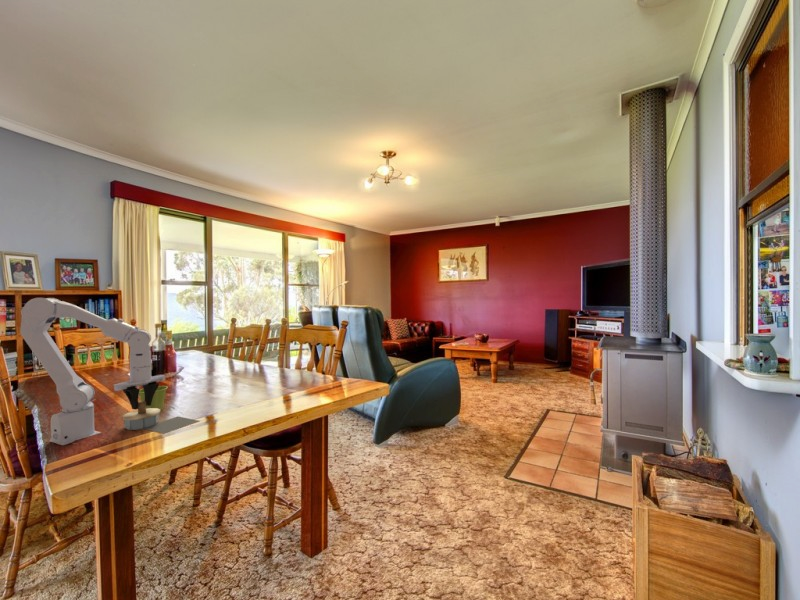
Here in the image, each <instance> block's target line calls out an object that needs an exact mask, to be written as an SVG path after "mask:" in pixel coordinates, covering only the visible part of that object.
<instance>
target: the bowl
mask: <svg viewBox="0 0 800 600" xmlns="http://www.w3.org/2000/svg"><path fill="white" fill-rule="evenodd" d="M159 415H160V413H159V414H157V415H155V416H152V417H148V418H144V419H138V420H124V419H123V420H124V421H123V422H124V429H126V430H128V431H135V430H143V429H142V428H147V427H150V426H153V425H155V424H156V423H159V422H160V421H159V419H160V418H159V417H160V416H159Z"/></svg>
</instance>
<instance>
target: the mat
mask: <svg viewBox="0 0 800 600" xmlns="http://www.w3.org/2000/svg"><path fill="white" fill-rule="evenodd" d="M199 422H200V420H198V419H193V418H188V417H182V416H175V417H171V418H169V419H165V420H162V421H158V422H157V423H156V424H155V425H153V426H150V427H147V428H142V429H141V430H146V431H150V432H154V433H158V434H163V435H164V434H168V433H171V432H173V431H177V430H179V429H182V428H184V427H188V426H190V425H193V424H196V423H199Z"/></svg>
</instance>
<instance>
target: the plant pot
mask: <svg viewBox="0 0 800 600" xmlns="http://www.w3.org/2000/svg"><path fill="white" fill-rule="evenodd" d="M168 388H169V386H167V385H159V386H158V388H157V390H156V391H155V394H154V396H153V399H152V403H151V406H146V409H148V408H158V409H160V412H161V411H163V410H164V407H165V406H164V405H165V400H166V399H165V398H166V394H167V389H168ZM139 389H140V388H139ZM138 397H139V398H140V402H142V401H145V394H144V389H143V388H141V389H140V391H139V395H138Z"/></svg>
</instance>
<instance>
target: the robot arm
mask: <svg viewBox="0 0 800 600" xmlns="http://www.w3.org/2000/svg"><path fill="white" fill-rule="evenodd" d="M20 314H21V321H20V328H19V329H20V330H19V333H20V335H21V336H22V338H23V340H24V342H25V343H26V345H28V347H29V349H30V350H31V351H32V353H33V354H34V355H35V357H36V358H37V360H38V361H39V363H40V364H41V365H42V368H43V369H45V371H46V373H47V374H48V375H49V377H50V378H51V379H52V381H53V382H54V384H55V386H56V389H55V390H56V394H57V395H58V397H59V405H60V407H61V411H60V412H58V413H55V414H52V416H51V418H50V420H49V421H50V439H49V442H51V443H53V444H54V443H55V444H57V445H60V446H66V445H68V444H69V445H70V444H72V443H75V442H76V441H79V440H81V439H85V438H88V437H91V436H95V435H97V434H101V431H97V430H95V404H94V402H92V401H91V400H93V399H94V396H95V394H96V393H95V389H94V386H92V385H90V384H88V383H86V382H85V381H84V379H83V378H82V377H80V376H79V375H77V373H76V372H75V370H74V368H73V367H72V366H71V364H70V363H69V362H68V360H67V359H66V357H65V356H64V354H63V353H62V351H61V349H60V348H59V347H58V345H57V344H56V343H55V341H54V339H53V338H52V337H51V335H50V334H49V332H48V330H49V329H50V327H51V325H52V323H53V322H54V321H55V320H56V319H59V318H71V319H74V320H77V321H79V322H81V323H84V324H88V325H90V326H93V327H95V328H98V329H100V331H101V333H102V335H104V336H107V337H109V338H111V339H114V340H117V341H119V342H122V343H127V344H128V346H129V380H126V381H123V382H120V383H116V384H115V383H114V384H113V390H114V392H120V391H122V392H123V393H124V395H126V398H127V399H128V401H129V404H130V406H131V409H132V410H134V411H136V410H138V402H139V391H140V388H138V387H141V386H142V389H144V394H145V401H146V406H151V403H152V399H153V396H154V394H155V391H156V390H157V388H158V386H160V385H159V383H158V382H165V381H166V375H165V374H159V375H154V376H152V351H151V344H150V343H151V341H152V335H151V333H150V332H148V331H147V330H145V329H144V328H143V329H141V328H140V327H139V326H138V325H136V326H134V325H131V324H129V323H127V322H124V319H122V318H118V319H117V318H115V317H113V318H109V319H106V318H104V317H102V316H99V315H97V314H96V313H92V312H91V311H88V310H86V309H84V308H82V307H80V306H77V305H76V304H74V303H70V302H66V301H64V300H62V301H61V300H60V299H57V298H55V297H47V298H45V297H35V298H32V299H29V300H28V301H27V302H26V303H25V304H24V306H23V307H22V308H21V310H20Z"/></svg>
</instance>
